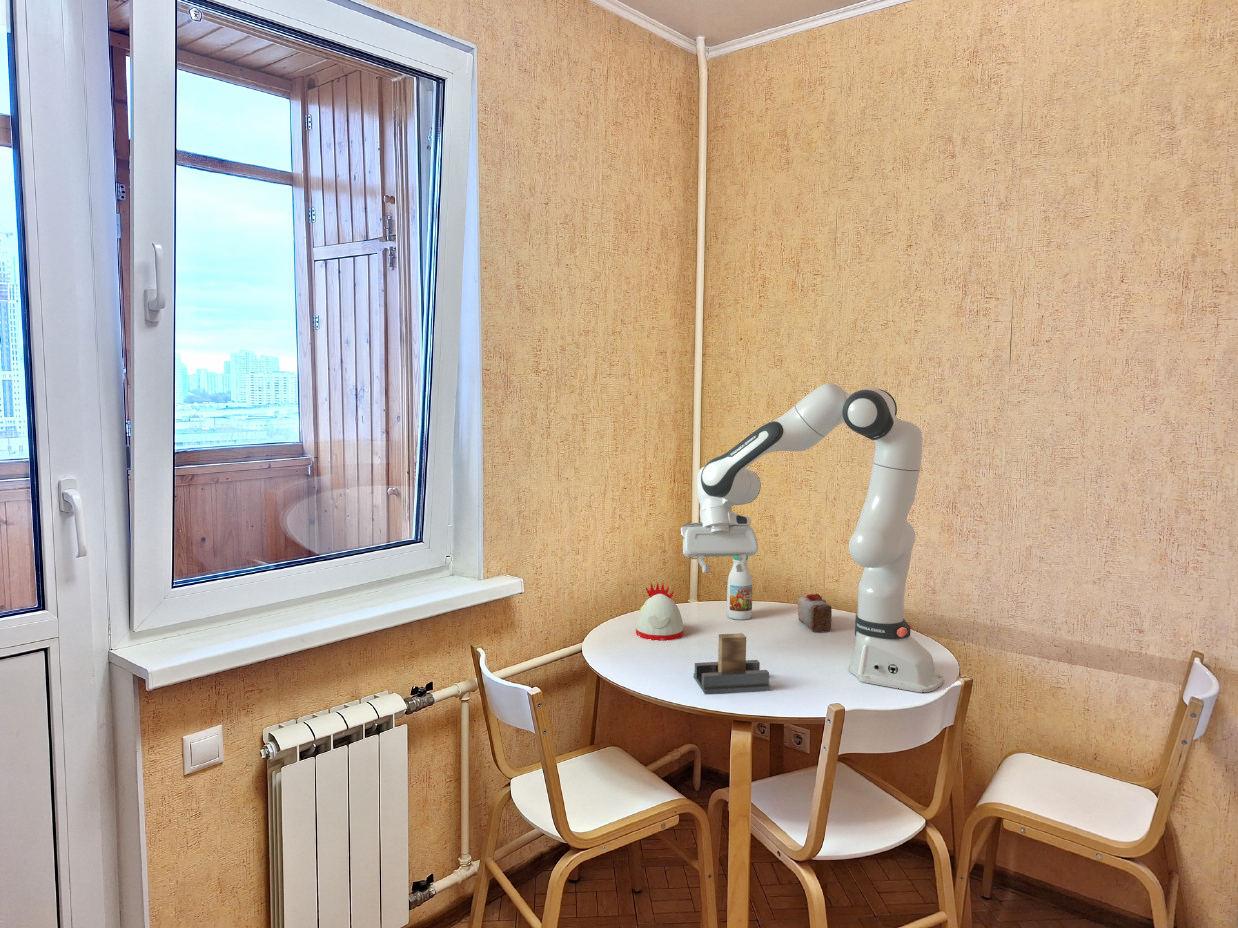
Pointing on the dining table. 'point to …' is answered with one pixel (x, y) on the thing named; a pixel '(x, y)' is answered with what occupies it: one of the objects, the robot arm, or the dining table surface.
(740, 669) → the wooden block
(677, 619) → the kitchen timer
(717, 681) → the door track
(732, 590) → the milk bottle
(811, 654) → the dining table surface
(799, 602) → the food item
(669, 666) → the dining table surface
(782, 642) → the dining table surface
